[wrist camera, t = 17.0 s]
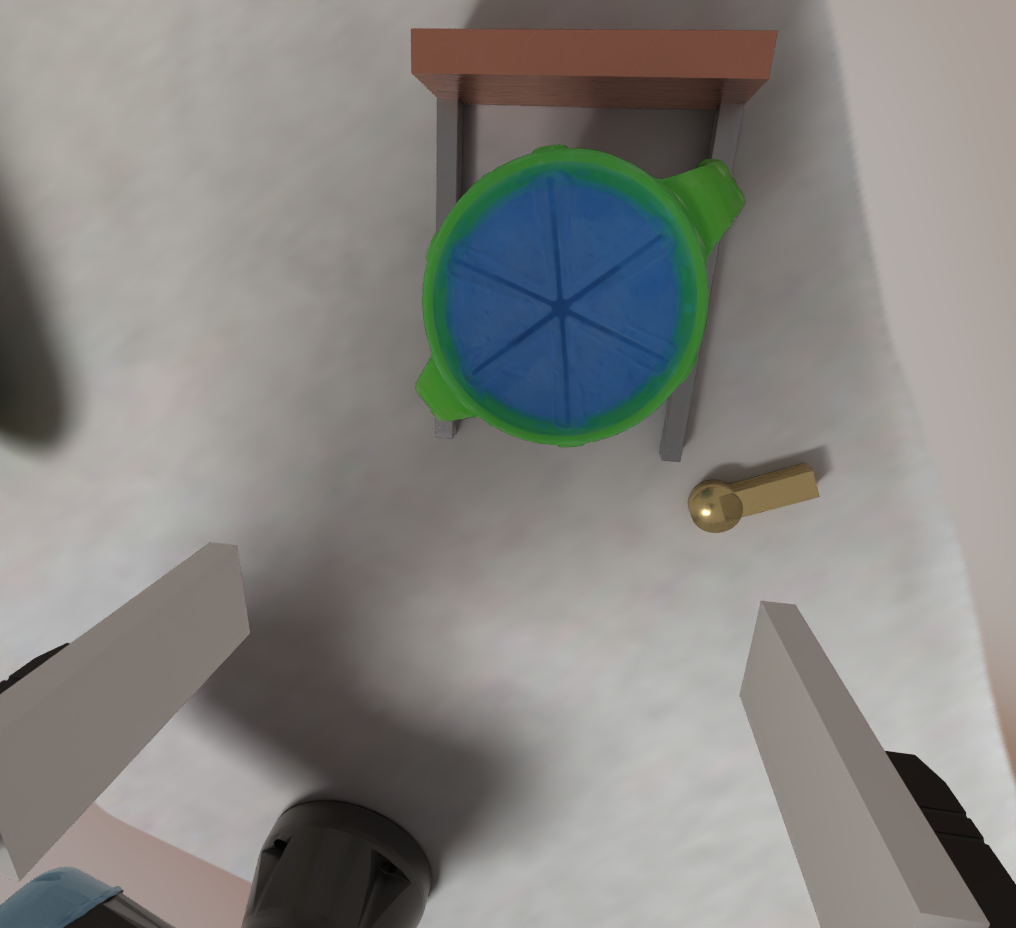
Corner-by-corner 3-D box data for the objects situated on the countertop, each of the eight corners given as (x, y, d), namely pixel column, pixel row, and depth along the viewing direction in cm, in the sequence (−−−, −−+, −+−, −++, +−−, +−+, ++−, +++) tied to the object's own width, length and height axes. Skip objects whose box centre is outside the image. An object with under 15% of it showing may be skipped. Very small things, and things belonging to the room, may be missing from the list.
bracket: (440, 431, 33) (415, 459, 29) (444, 67, 27) (411, 28, 22) (677, 454, 32) (690, 489, 27) (744, 72, 25) (777, 30, 20)
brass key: (695, 528, 33) (698, 538, 32) (682, 488, 32) (685, 496, 31) (813, 497, 31) (821, 506, 30) (803, 453, 30) (810, 460, 29)
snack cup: (668, 105, 26) (707, 19, 16) (756, 308, 28) (833, 334, 19) (403, 279, 31) (315, 289, 21) (497, 440, 33) (456, 513, 24)
